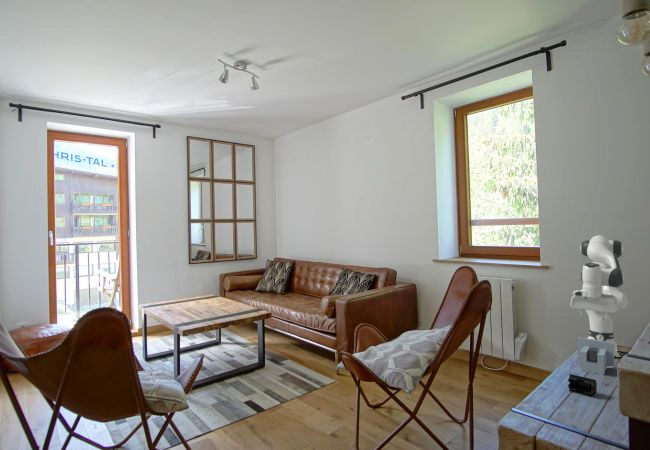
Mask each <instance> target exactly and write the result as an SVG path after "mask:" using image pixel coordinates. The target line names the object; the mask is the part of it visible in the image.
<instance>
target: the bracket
mask: <svg viewBox="0 0 650 450" xmlns="http://www.w3.org/2000/svg"><path fill="white" fill-rule="evenodd" d="M597 354H598V352H597V348H592V347H590V349H589V361H592V362H597Z"/></svg>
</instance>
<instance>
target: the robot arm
mask: <svg viewBox="0 0 650 450" xmlns="http://www.w3.org/2000/svg"><path fill="white" fill-rule="evenodd" d="M579 250H580V253H581V254H582V255H583V256H584V257H588V258H589V259H590V260H591V261H592V262H588V263H584V264H583V266H582V271H581V272H580V281H581V282H582V283H583V284H582V289H581V288H580V289H577V290H574V291H573V292H572V296H571V299H570V308H571V309H575V310H578V312H579V314H580V318H583V319H584V318H585V313H583V312H582V311H583V310H584V311H586V314H587V315H588V316H587V317H588V320H589V329H588V336H587V338H588V339H594V340H601V341H607V342H613V343H614V353H617V351H619V349H618V345H617V344H618V343H617V342H616V341H615V339H614V338H615V335H614V331H613V319H612V317H610V316H609V314H611V313H612V314H614V313H616V312H617V311H618V310H624V309H625V308H626V307H628V302H629V299H628V298H627V296H626V294H625V293H624V292H622V291H620V290H619V289H618V288H619V287H621V286H623V285H624V283H625V282H624V281H625V276H624V274H623V271H622V269H621V266H620V263H619V262H620V261H619V258H620V257H621V256H622V255H623V253H624V250H625V247H624V245H623V243H622V241H620V240H615V239H614V240H610V239H608V238H607V237H606V236H604V235H599V234H598V235H595V236H592V238H590V240H583V241H582V242H581V243H580V246H579Z"/></svg>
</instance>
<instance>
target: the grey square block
mask: <svg viewBox="0 0 650 450" xmlns="http://www.w3.org/2000/svg"><path fill="white" fill-rule="evenodd" d="M590 347H592V348H597V352H598V354H597V362H592V361H589V349H590ZM578 362H580V363H579V364H580V371H581V372H587V373H591V372H592V373H591V374H595V373H597V375H600V374H604V373H605V374H606V372H605V370H606V367H607V366H613V365H614V366H615V358H614V343H613V342H607V341H601V340H594V339H588V337H580V336H578V337H577V363H578ZM606 371H607V370H606ZM605 374H604V375H605Z"/></svg>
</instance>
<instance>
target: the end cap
mask: <svg viewBox="0 0 650 450" xmlns="http://www.w3.org/2000/svg"><path fill="white" fill-rule="evenodd" d="M568 375H569V376H568V377H569V378H568V379H567V382H568V383H569V384H568V385H567V387H568V392H570V393H573V394H578V395H581V396H586V397H589V398H593V397H594V396H595V394H597V390H598V383H597V382H598V381H597V380H596V379H593V378H589V377H584V376H581V375H576V374H572V373H570V374H568Z"/></svg>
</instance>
